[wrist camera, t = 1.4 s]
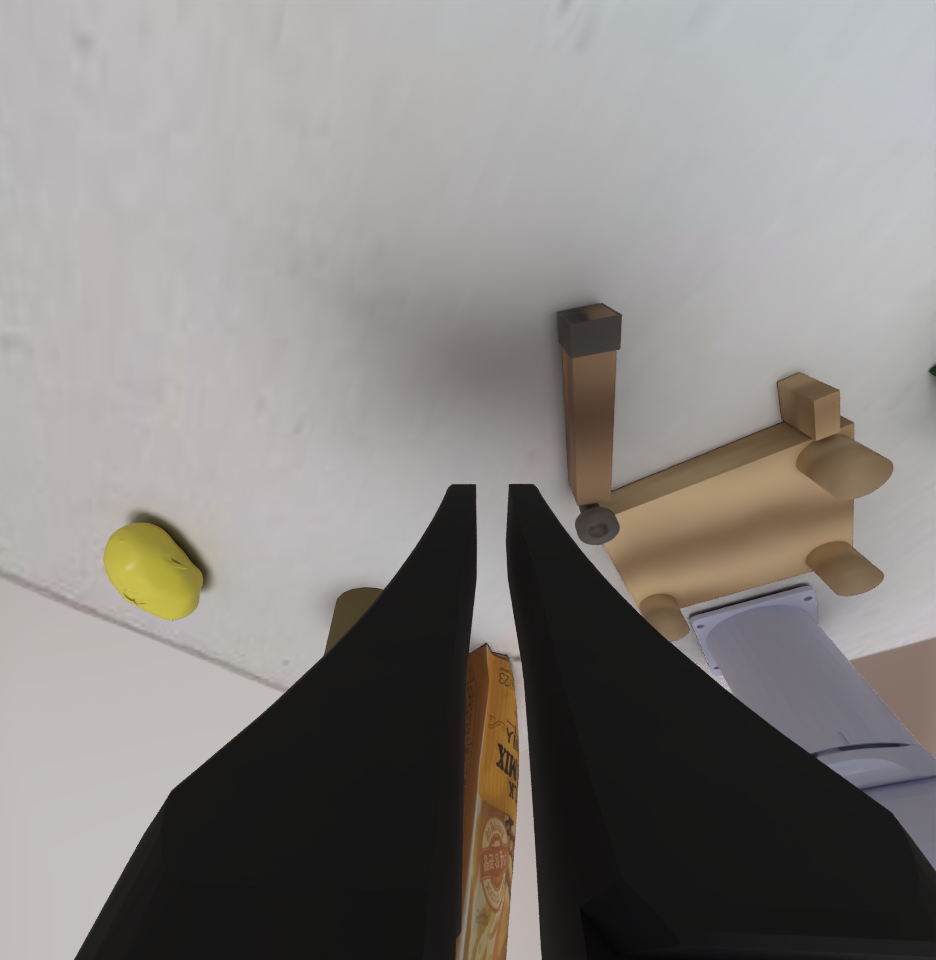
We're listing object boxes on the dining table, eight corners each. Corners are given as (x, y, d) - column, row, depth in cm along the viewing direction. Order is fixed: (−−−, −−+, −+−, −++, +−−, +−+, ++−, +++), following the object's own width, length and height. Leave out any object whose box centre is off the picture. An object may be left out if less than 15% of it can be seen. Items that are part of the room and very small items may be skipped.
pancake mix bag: (456, 727, 40) (425, 1369, 18) (433, 634, 30) (275, 2012, 7) (514, 727, 40) (560, 1386, 17) (514, 633, 29) (639, 2107, 6)
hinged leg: (599, 474, 19) (613, 502, 17) (566, 479, 19) (575, 507, 17) (602, 302, 14) (621, 314, 12) (557, 312, 15) (569, 325, 13)
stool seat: (827, 538, 22) (884, 588, 19) (624, 599, 26) (644, 649, 23) (820, 363, 16) (902, 395, 13) (556, 479, 20) (570, 525, 17)
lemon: (181, 512, 22) (131, 559, 19) (226, 591, 27) (192, 639, 24) (115, 509, 22) (55, 555, 19) (172, 588, 27) (131, 636, 24)
